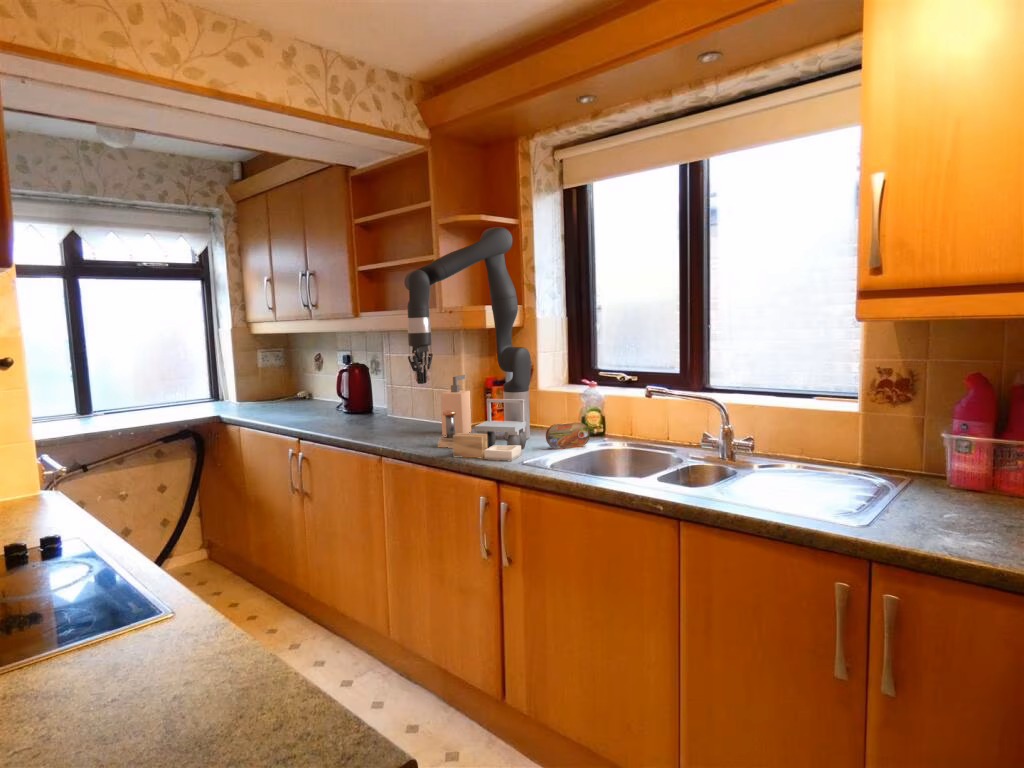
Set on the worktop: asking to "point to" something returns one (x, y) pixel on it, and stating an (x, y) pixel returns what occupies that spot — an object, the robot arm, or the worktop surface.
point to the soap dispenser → (457, 407)
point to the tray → (502, 452)
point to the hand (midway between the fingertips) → (422, 383)
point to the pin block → (445, 442)
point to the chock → (469, 444)
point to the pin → (450, 423)
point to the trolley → (504, 425)
